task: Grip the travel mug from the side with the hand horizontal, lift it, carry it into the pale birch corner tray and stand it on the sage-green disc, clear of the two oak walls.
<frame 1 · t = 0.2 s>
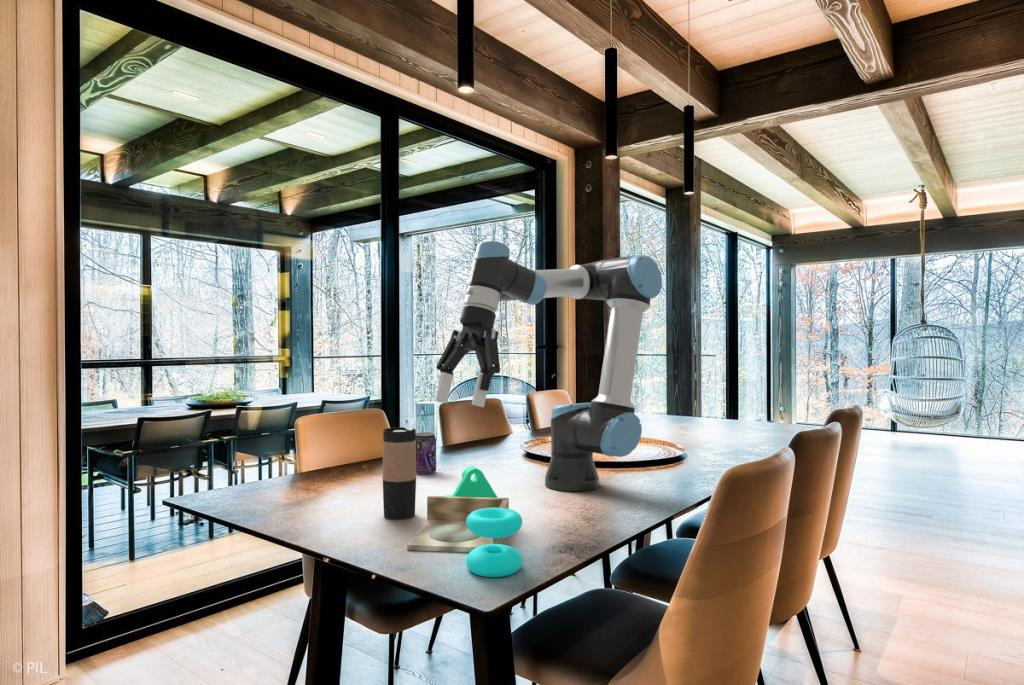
hand: (458, 404, 132), 27 cm above the table, tool tilted 15°, fingers open, 13 cm apart
corner tray: (461, 536, 128), on the table
camera mount: (469, 508, 151), on the table
travel mug: (399, 516, 143), on the table
beverage can: (424, 473, 190), on the table
donuts: (494, 570, 110), on the table
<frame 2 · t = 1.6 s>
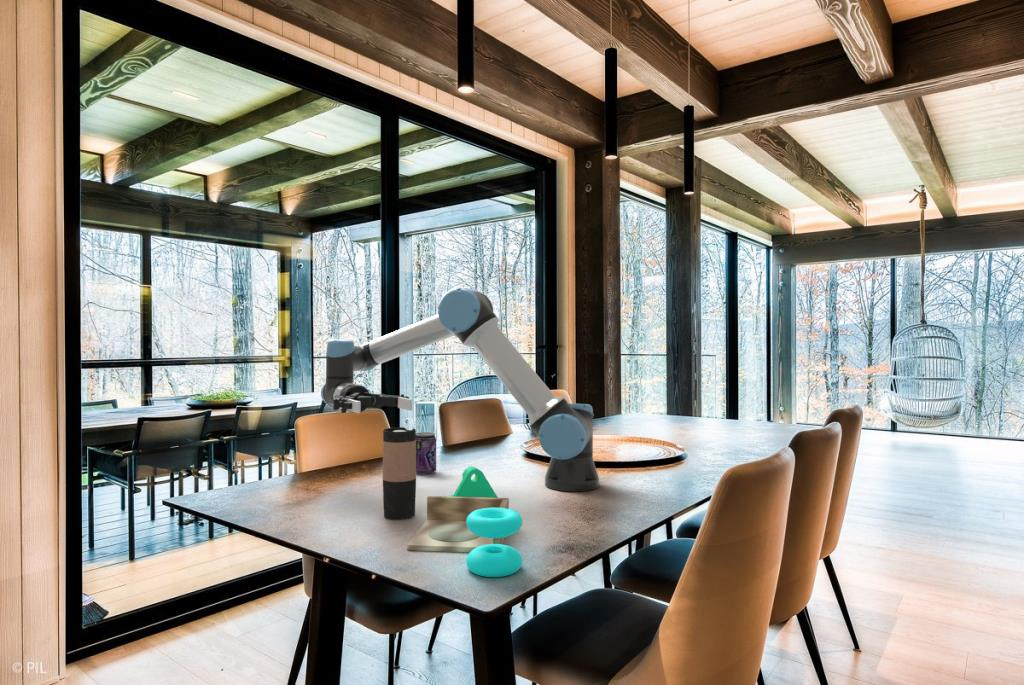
hand: (385, 406, 150), 25 cm above the table, tool horizontal, fingers open, 13 cm apart
nothing on the table moved.
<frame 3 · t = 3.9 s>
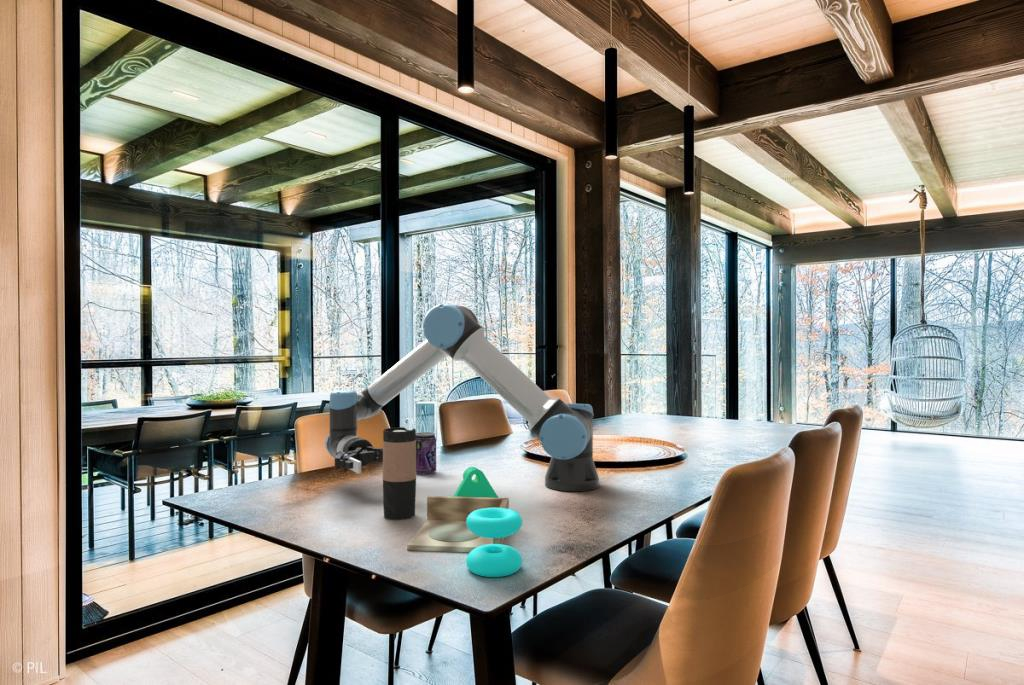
hand: (387, 464, 148), 11 cm above the table, tool horizontal, fingers open, 13 cm apart
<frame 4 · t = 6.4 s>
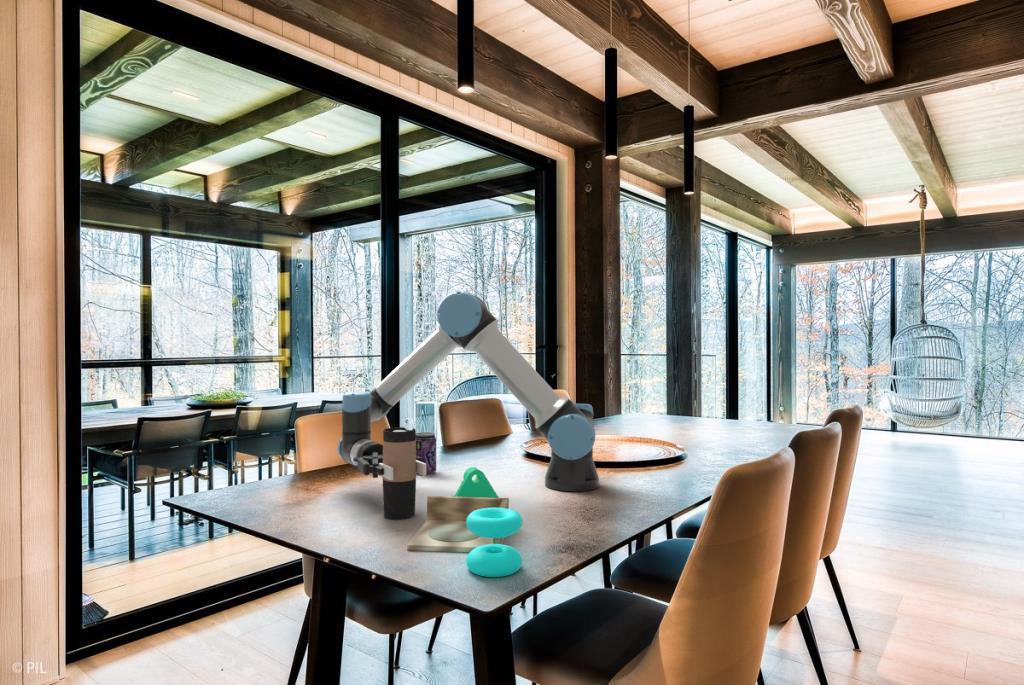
hand: (408, 471, 139), 11 cm above the table, tool horizontal, fingers closed on travel mug, 7 cm apart
travel mug: (399, 516, 143), on the table, touching gripper
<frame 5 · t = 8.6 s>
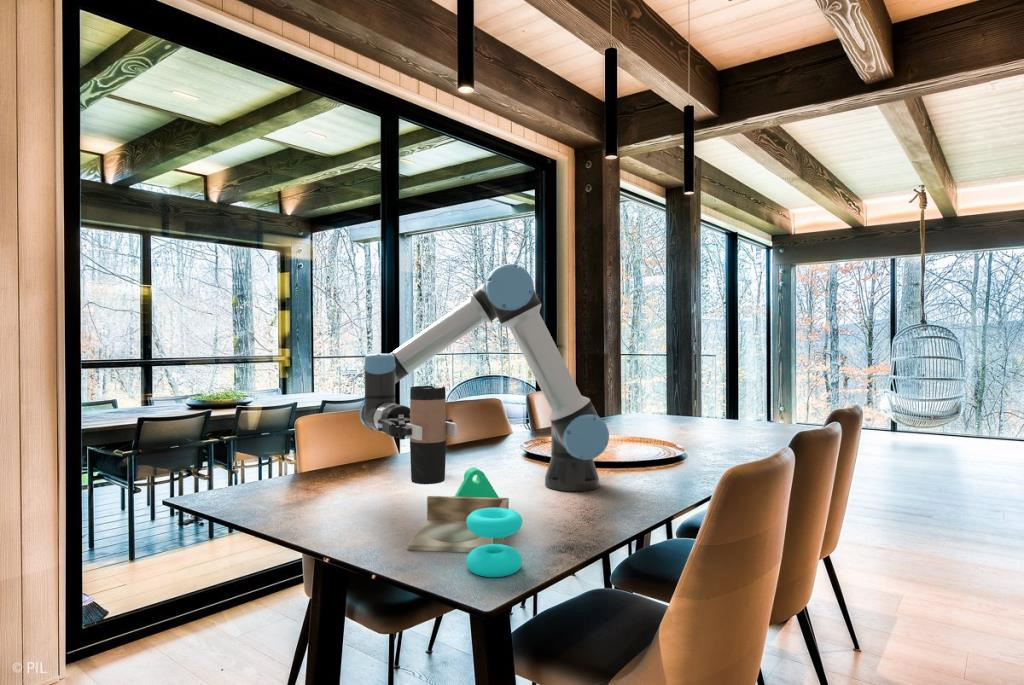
hand: (438, 431, 128), 22 cm above the table, tool horizontal, fingers closed on travel mug, 7 cm apart
travel mug: (428, 481, 132), point 11 cm above the table, touching gripper
when the fingers open (13 cm above the table, at t = 11.1 s): travel mug drops 1 cm, resting on corner tray.
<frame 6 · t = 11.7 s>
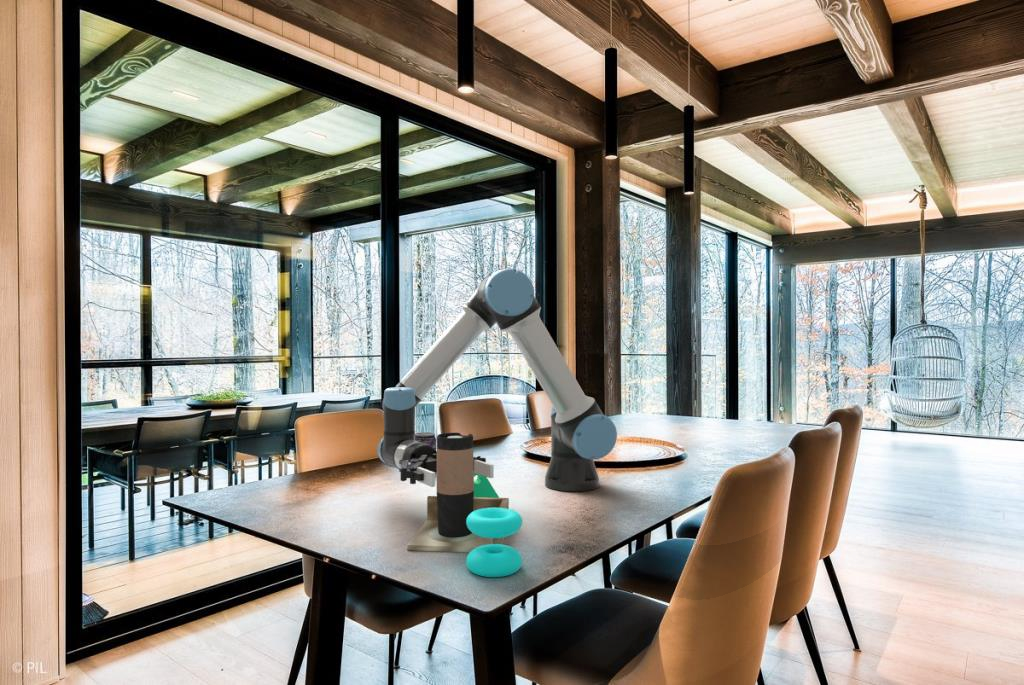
hand: (463, 475, 124), 13 cm above the table, tool horizontal, fingers open, 13 cm apart
travel mug: (455, 533, 127), point 1 cm above the table, touching corner tray
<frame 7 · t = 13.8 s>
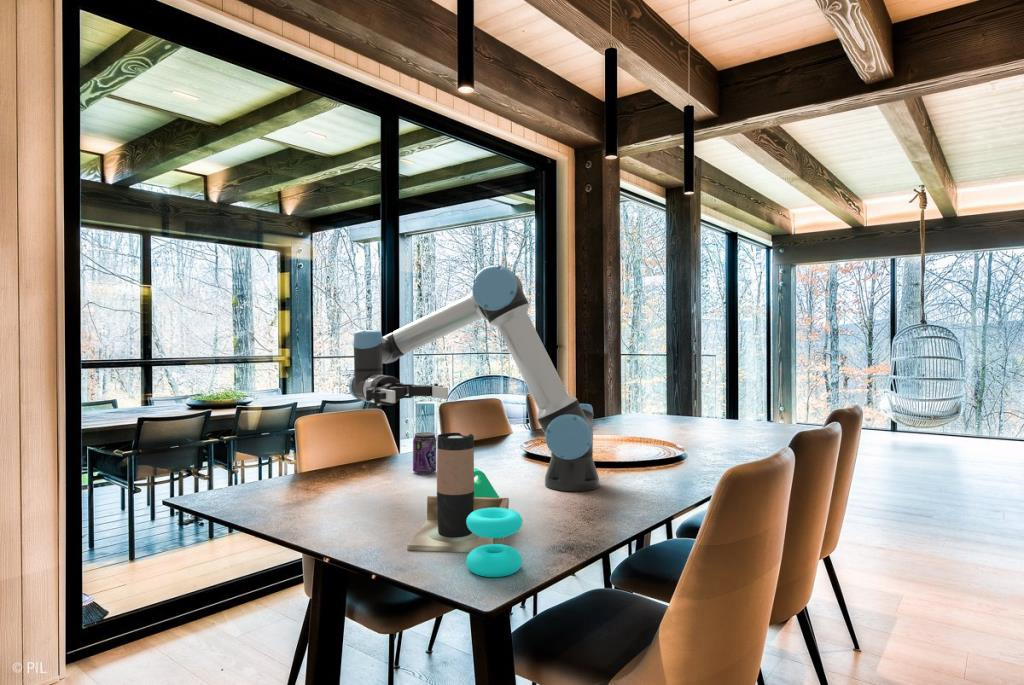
hand: (421, 395, 143), 28 cm above the table, tool horizontal, fingers open, 13 cm apart
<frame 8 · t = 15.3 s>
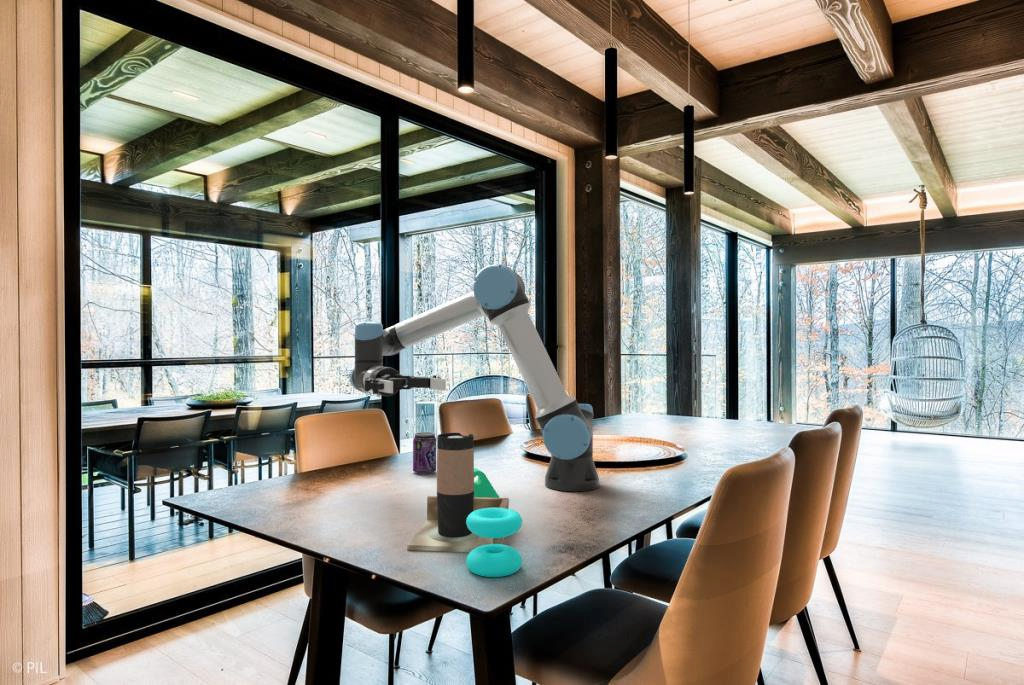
hand: (418, 386, 144), 30 cm above the table, tool horizontal, fingers open, 13 cm apart
at the end: travel mug inside the target area on the corner tray (1.1 cm from its centre), point 1.0 cm above the corner tray's base; travel mug tilted 0°; the gripper is holding nothing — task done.
